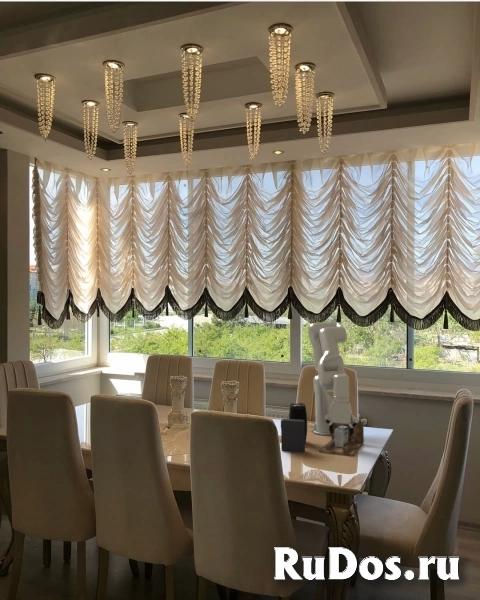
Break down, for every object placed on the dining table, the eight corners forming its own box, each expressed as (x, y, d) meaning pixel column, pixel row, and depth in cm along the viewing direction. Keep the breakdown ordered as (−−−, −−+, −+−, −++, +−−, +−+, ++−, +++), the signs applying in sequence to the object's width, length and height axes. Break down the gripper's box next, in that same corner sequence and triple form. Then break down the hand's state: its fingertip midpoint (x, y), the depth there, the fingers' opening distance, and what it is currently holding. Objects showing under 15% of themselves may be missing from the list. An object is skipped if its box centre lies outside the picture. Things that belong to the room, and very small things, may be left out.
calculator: (305, 450, 256) (305, 419, 256) (303, 453, 252) (303, 421, 252) (283, 448, 259) (282, 418, 259) (281, 451, 255) (280, 420, 255)
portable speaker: (304, 445, 264) (303, 406, 264) (286, 443, 268) (286, 405, 268) (309, 441, 272) (308, 403, 272) (292, 439, 276) (291, 401, 276)
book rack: (319, 452, 253) (318, 428, 253) (332, 440, 272) (332, 419, 272) (352, 456, 246) (352, 431, 246) (363, 444, 265) (363, 421, 265)
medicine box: (343, 448, 255) (343, 430, 255) (334, 447, 257) (334, 429, 257) (348, 444, 262) (348, 426, 262) (339, 443, 264) (339, 425, 264)
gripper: (321, 399, 260) (321, 434, 260) (356, 402, 252) (357, 438, 253) (326, 396, 266) (326, 430, 267) (360, 399, 259) (360, 434, 259)
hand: (341, 434), depth 260 cm, fingers open, 9 cm apart
